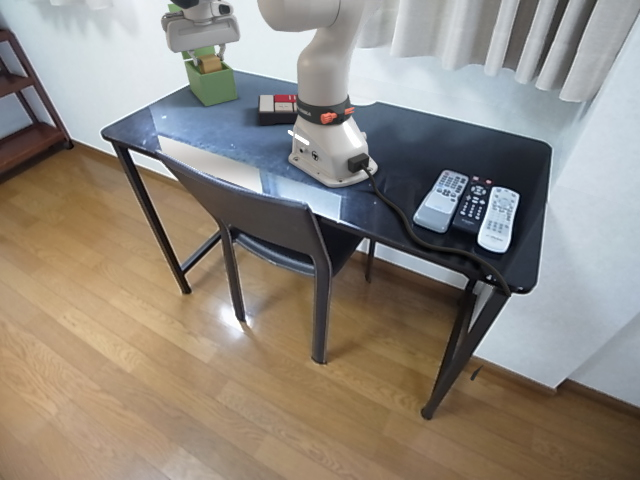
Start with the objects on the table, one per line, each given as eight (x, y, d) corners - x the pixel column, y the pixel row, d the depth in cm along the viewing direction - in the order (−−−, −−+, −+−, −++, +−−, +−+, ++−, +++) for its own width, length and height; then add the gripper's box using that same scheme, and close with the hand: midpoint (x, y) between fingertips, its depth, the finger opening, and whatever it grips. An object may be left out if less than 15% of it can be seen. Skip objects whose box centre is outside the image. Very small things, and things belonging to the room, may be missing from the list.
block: (223, 76, 110) (219, 58, 106) (206, 79, 108) (203, 61, 104) (216, 70, 113) (213, 53, 109) (201, 74, 111) (197, 56, 107)
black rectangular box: (313, 110, 100) (257, 110, 99) (313, 125, 103) (258, 125, 102) (310, 93, 108) (258, 92, 107) (310, 107, 111) (259, 107, 110)
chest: (237, 98, 114) (232, 69, 108) (205, 106, 110) (199, 76, 104) (221, 83, 122) (215, 55, 116) (191, 90, 118) (183, 61, 112)
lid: (203, -1, 107) (202, -1, 108) (168, 4, 103) (167, 4, 104) (215, 53, 115) (215, 53, 116) (183, 59, 112) (183, 59, 112)
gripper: (162, 16, 92) (177, 73, 102) (238, 5, 100) (245, 59, 110) (155, 10, 96) (170, 66, 106) (229, 0, 104) (237, 53, 114)
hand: (209, 62), depth 108 cm, fingers open, 6 cm apart
